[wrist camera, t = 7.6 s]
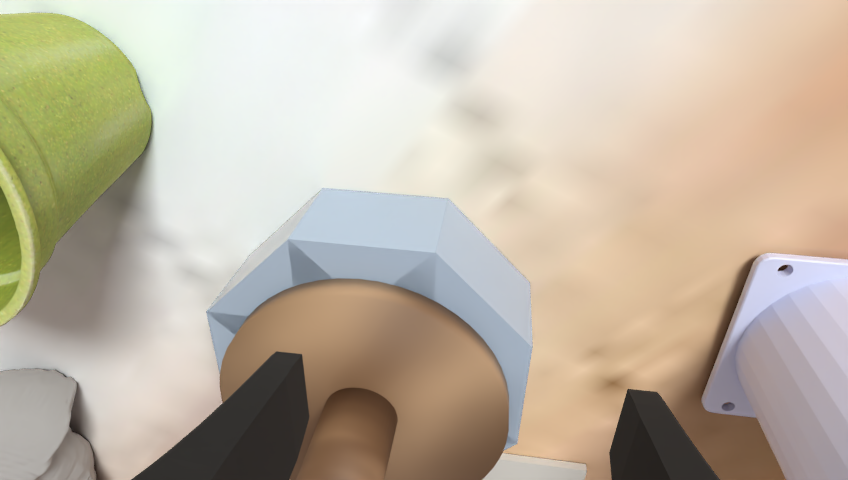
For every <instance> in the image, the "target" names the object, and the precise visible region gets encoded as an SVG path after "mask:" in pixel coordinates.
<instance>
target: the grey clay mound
mask: <svg viewBox="0 0 848 480" xmlns="http://www.w3.org/2000/svg"><path fill="white" fill-rule="evenodd" d="M76 389H77V383H76V381H75V380H74V379H73V378H72V377H64V375H63V374H61V373H59V372H57V371H56V370H49V371H46V370H43V369H19V370H16V369H13V370H8V371H0V480H96V471H95V470H94V458H93V451H92V450H91V446H90V443H89V442H88V441H87V440H85V439H84V438H83V437H81V436H80V435H79V434H77V433H73V432H72V430H71V428H70V427H69V424H70V419H71V410H72V406H73V402H74V398H75V394H76Z"/></svg>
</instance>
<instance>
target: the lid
mask: <svg viewBox="0 0 848 480" xmlns="http://www.w3.org/2000/svg"><path fill="white" fill-rule="evenodd" d="M276 351H278V352H287V353H296V354H302V357H303V366H304V375H305V383H306V392H307V400H308V409H309V421H308V424H307V428H306V432H305V435H304V439H303V442H302V446H301V449H300V452H299V456H298V459H297V462H296V464H295V467H294V469H293V471H292V474H291V476H290V479H289V480H482V479H483V478H484V477H485V476H486V475H487V474H488V473H489V472H490V471H491V470H492V469H493V468H494V466H495V465H496V463H497V462H498V460H499V459H500V457H501V455H502V453H503V450H504V448H505V445H506V441H507V437H508V432H509V393H508V387H507V382H506V379H505V376H504V373H503V370H502V367H501V365H500V364H499V362H498V360H497V358H496V356H495V354H494V353H493V351H492V350H491V349H490V347H489V346H488V345H487V343H486V342H485V341H484V339H483V338H482V337H481V336H480V335H479V334H478V333H477V332H476V331H475V330H474V329H473V328H472V327H471V326H470V325H469V324H468V323H466V322H465V321H464V320H463V319H461V318H460V317H459V316H458V315H456V314H455V313H454V312H452V311H450V310H449V309H447V308H446V307H444V306H442V305H441V304H439V303H438V302H436V301H433V300H431V299H429V298H427V297H425V296H423V295H421V294H419V293H416V292H413V291H411V290H408V289H405V288H402V287H399V286H395V285H391V284H387V283H383V282H379V281H371V280H364V279H345V278H336V279H326V280H317V281H312V282H308V283H303V284H299V285H296V286H294V287H291V288H288V289H285V290H283V291H281V292H279V293H277V294H276V295H274V296H272V297H270V298H268V299H267V300H266V301H264V302H263V303H262V304H260V305H259V306H258V307H257V308H256V309H255V310H254V311H253V312H252V313H251V314H250V315H249V316H248V317H247V318H246V320H245V321H244V323H243V324H242V326H241V327H240V329H239V330H238V332H237V333H236V335H235V337H234V338H233V340H232V341H231V343H230V344H229V346H228V347H227V350H226V352H225V355H224V357H223V360H222V365H221V370H220V391H221V396H222V401H223V402H225V401H226V400H227V399H228V398H229V397H230V396H231V395H232V394H233V393H234V392H235V391H236V390H237V389H238V388H239V387H240V386H241V385H242V384H243V383H244V382H245V381H246V380H247V379H248V378H249V377H250V376H251V375H252V374H253V373H254V372H255V371H256V370H257V369H258V368H259V367H260V366H261V365H262V364H263V363H264V362H265V361H266V360H267V359H268V358H269V357H270V356H271V355H272V354H274V353H275V352H276Z"/></svg>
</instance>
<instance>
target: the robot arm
mask: <svg viewBox="0 0 848 480" xmlns="http://www.w3.org/2000/svg"><path fill="white" fill-rule="evenodd" d="M783 265H789V266H788V267H787V268H786V269H784V270H782V271H777V270H778V269H779V268H780V267H781V266H783ZM701 402H702V404H703V407H704V409H705V410H707V411H708V412H712V413H720V414H728V415H737V416H745V417H754V418H757V420H758V422H759V424H760V426H761V428H762V430H763V432H764V434H765V436H766V438H767V441H768V443H769V445H770V447H771V449H772V451H773V453H774V455H775V457H776V459H777V462H778V464H779V466H780V468H781V470H782V472H783V474H784V476H785V478H786V480H848V260H847V259H835V258H824V257H813V256H801V255H790V254H778V253H765V254H763V255H760V256H759V257H758V258H756V259H755V261H754V262H753V265H752V267H751V270H750V272H749V275H748V278H747V280H746V283H745V286H744V288H743V291H742V293H741V296H740V299H739V301H738V304H737V307H736V309H735V312H734V314H733V317H732V320H731V322H730V325H729V328H728V330H727V333H726V335H725V338H724V341H723V343H722V346H721V349H720V351H719V354H718V356H717V359H716V362H715V364H714V367H713V369H712V372H711V375H710V377H709V380H708V383H707V385H706V388H705V390H704V393H703V396H702V400H701ZM727 402H730V403H728V404H724V403H727ZM308 421H309V409H308V400H307V392H306V383H305V375H304V366H303V357H302V354H296V353H287V352H278V351H276V352H275V353H274V354H272V355H271V356H270V357H269V358H268V359H267V360H266V361H265V362H264V363H263V364H262V365H261V366H260V367H259V368H258V369H257V370H256V371H255V372H254V373H253V374H252V375H251V376H250V377H249V378H248V379H247V380H246V381H245V382H244V383H243V384H242V385H241V386H240V387H239V388H238V389H237V390H236V391H235V392H234V393H233V394H232V395H231V396H230V397H229V398H228V399H227V400H226V401H225V402H223V403H222V404H221V405H220V406H219V407H218V408H217V409H216V410H215V411H214V412H213V413H212V414H211V415H210V416H209V417H207V418H206V419H205V420H204V421H203V422H202V423H201V424H200V425H199V426H197V427H196V428H195V429H194V430H193V431H191V432H190V433H189V434H188V435H187V436H186V437H184V438H183V439H182V440H181V441H180V442H179V443H177V444H176V445H175V446H174V447H173V448H172V449H170V450H169V451H168V452H167V453H165V454H164V455H163V456H162V457H160V458H159V459H158V460H157V461H155V462H154V463H153V464H152V465H150V466H149V467H148V468H146V469H145V470H144V471H142V472H141V473H140V474H138V475H137V476H136V477H134V478H133V479H132V480H289V479H290V476H291V474H292V471H293V469H294V467H295V464H296V462H297V459H298V456H299V452H300V449H301V446H302V442H303V439H304V435H305V432H306V428H307V424H308ZM610 464H611V475H612V480H720V479H719V478H718V477H717V475H716V474H715V473H714V471H713V470H712V469H711V467H710V466H709V465H708V463H707V462H706V461H705V459H704V458H703V457H702V455H701V454H700V452H699V451H698V450H697V448H696V447H695V445H694V444H693V443H692V441H691V440H690V438H689V437H688V436H687V434H686V433H685V431H684V430H683V428H682V427H681V425H680V424H679V423H678V421H677V420H676V418H675V417H674V415H673V414H672V412H671V411H670V409H669V408H668V406H667V405H666V403H665V402H664V400H663V399H662V397H661V396H660V395H659V394H658V393H657V392H650V391H641V390H632V389H628V390H627V394H626V397H625V401H624V404H623V408H622V411H621V415H620V418H619V422H618V425H617V428H616V432H615V435H614V439H613V442H612V446H611V449H610Z"/></svg>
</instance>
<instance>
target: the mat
mask: <svg viewBox="0 0 848 480" xmlns="http://www.w3.org/2000/svg"><path fill="white" fill-rule="evenodd" d="M586 472H587V468H586V464H582V463H574V462H566V461H559V460H551V459H543V458H536V457H528V456H520V455H512V454H505V453H502V455H501V457H500V459H499V460H498V462H497V463H496V465H495V466H494V468H493V469H492V470H491V471H490V472H489V473H488V474H487V475H486V476H485V477H484V478H483V479H482V480H585V476H586Z"/></svg>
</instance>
